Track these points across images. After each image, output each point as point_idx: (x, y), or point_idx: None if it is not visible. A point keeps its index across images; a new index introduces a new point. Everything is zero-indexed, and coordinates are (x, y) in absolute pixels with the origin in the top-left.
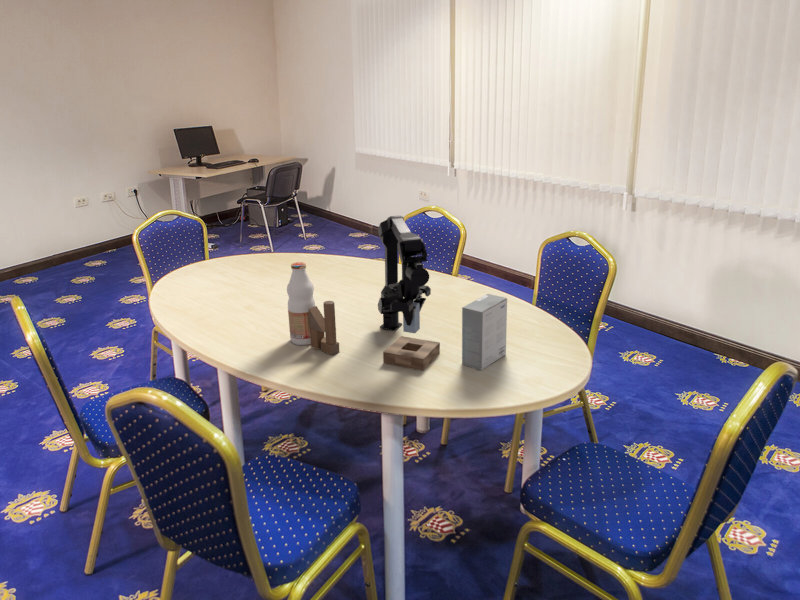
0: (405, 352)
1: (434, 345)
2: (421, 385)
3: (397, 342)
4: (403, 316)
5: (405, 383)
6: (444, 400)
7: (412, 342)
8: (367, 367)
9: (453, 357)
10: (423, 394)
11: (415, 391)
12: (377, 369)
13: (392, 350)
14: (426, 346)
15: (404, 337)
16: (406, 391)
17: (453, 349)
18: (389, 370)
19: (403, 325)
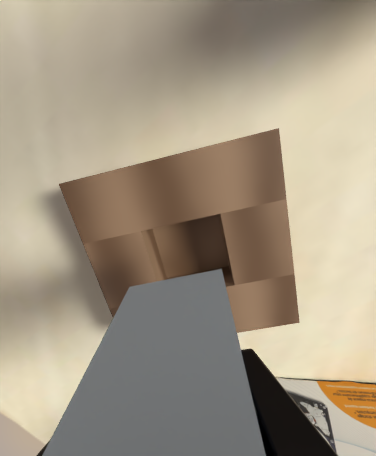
0: (126, 269)
1: (258, 321)
2: (66, 355)
3: (192, 169)
4: (54, 438)
5: (41, 319)
6: (53, 421)
7: (234, 232)
8: (18, 150)
9: (273, 338)
10: (36, 380)
11: (31, 360)
12: (37, 194)
13: (102, 211)
14: (231, 303)
15: (269, 158)
16: (13, 344)
17: (333, 310)
18: (64, 233)
19: (111, 324)
